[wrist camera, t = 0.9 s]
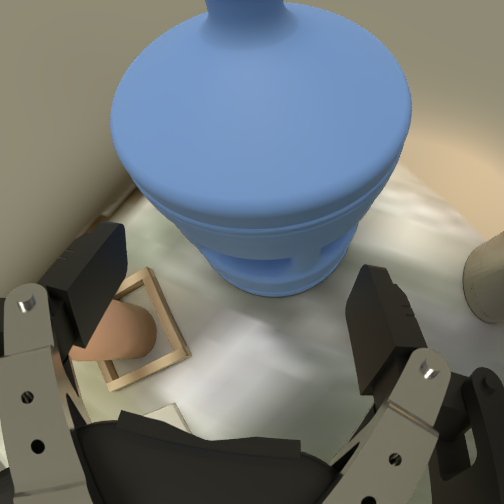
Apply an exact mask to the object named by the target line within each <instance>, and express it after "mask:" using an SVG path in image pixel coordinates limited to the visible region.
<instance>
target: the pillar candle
mask: <svg viewBox="0 0 504 504" xmlns="http://www.w3.org/2000/svg"><path fill="white" fill-rule="evenodd" d="M156 335H157V330H156V324H155V321H154V319H153V317H152V316H151V314H150V313H149V312H148V311H147V310H146V309H144V308H142V307H140V306H137V305H133V304H129V303H125V302H121V301H117V300H113V299H112V301H111V303H110V305H109V306H108V308H107V310H106V312H105V314H104V315H103V317H102V319H101V321H100V323H99V324H98V326H97V328H96V330H95V332H94V334H93V335H92V337H91V339H90V341H89V343H88V345H87V347H86V349H84V348H80V347H77V346H74V345H73V346H72V348H71V350H70V352H69V353H70V356H71V359H72V360H75V361H101V360H120V359H135V358H141V357H143V356H145V355H146V354H148V353H149V352H150V351H151V349H152V348H153V346H154V344H155V341H156Z"/></svg>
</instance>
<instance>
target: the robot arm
mask: <svg viewBox="0 0 504 504" xmlns="http://www.w3.org/2000/svg"><path fill="white" fill-rule="evenodd" d="M127 266H128V261H127V250H126V237H125V228H124V225H123V224H120V223H113V222H107V221H101V222H100V223H99V224H98V225H97V226H96V227H95V228H94V229H93V230H92V231H91V233H86V234H84V235H82V236H80V237H79V238H77V239H75V240H74V241H73V242H72V243H71V244H70V245H69V246H68V248H67V249H66V251H64V252H63V253H62V254H61V255H60V258H58V259H57V260H56V261H55V262H54V263H53V265H52V266H51V267H50V268H49V269H48V270H47V272H46V273H45V274H44V275H43V276H42V278H41V279H40V280H39V281H38V283H37V284H34V283H29V284H24V285H21V286H19V287H17V288H15V289H14V290H12V292H10V293H9V295H8V296H7V298H0V420H1V427H2V433H3V439H4V444H5V450H6V454H7V459H8V463H9V467H8V468H6V469H4V470H3V471H1V472H0V504H408V502H409V500H410V498H411V497H412V495H413V493H414V491H415V489H416V487H417V485H418V483H419V481H420V479H421V477H422V475H423V473H424V470H425V468H426V466H427V464H428V466H429V474H430V482H431V492H432V504H504V387H503V384H502V382H501V380H500V379H499V377H498V376H497V375H496V374H495V373H494V372H493V371H491V370H490V369H488V368H484V367H479V368H477V369H476V370H475V371H474V372H473V373H472V374H471V375H470V376H469V377H466V376H463V375H460V374H457V373H453V372H451V371H450V367H449V365H448V363H447V361H446V360H445V359H444V357H443V356H441V355H440V354H439V353H438V352H436V351H434V350H432V349H428V347H427V345H426V342H425V340H424V337H423V334H422V332H421V329H420V327H419V325H418V322H417V320H416V318H415V317H414V316H415V315H414V313H413V310H412V308H410V307H411V305H410V303H409V301H408V299H407V296H406V294H405V293H404V292H403V291H402V290H401V289H400V288H399V287H398V286H397V284H393V283H392V280H391V278H390V276H389V274H388V271H387V269H386V268H384V267H378V266H372V265H366V264H365V265H363V266H362V268H361V269H360V272H359V274H358V276H357V279H356V281H355V284H354V286H353V288H352V291H351V293H350V295H349V298H348V300H347V304H346V320H347V325H348V330H349V335H350V340H351V345H352V350H353V356H354V361H355V367H356V372H357V378H358V384H359V390H360V395H373V397H374V403H373V404H372V405H371V406H370V408H369V409H368V411H367V412H366V414H365V415H364V417H363V418H362V420H361V421H360V423H359V424H358V426H357V427H356V429H355V430H354V431H353V433H352V434H351V436H350V437H349V439H348V440H347V441H346V443H345V444H344V445H343V447H342V448H341V449H340V450H339V452H338V453H337V454H336V455H335V456H334V457H333V458H332V459H331V461H330V462H329V463H328V464H327V463H326V462H324V461H322V460H321V459H319V458H317V457H315V456H312V455H310V454H308V453H305V452H301V442H300V440H288V439H275V438H264V437H250V438H240V439H229V440H216V441H209V440H204V439H202V438H199V437H197V436H195V435H192V434H190V433H188V432H186V431H183V430H181V429H179V428H177V427H175V426H173V425H170V424H168V423H166V422H164V421H161V420H157V419H153V418H149V417H145V416H141V415H137V414H134V413H130V412H126V411H123V410H121V412H120V415H119V418H118V420H110V421H100V422H94V423H92V422H91V419H90V417H89V415H88V413H87V411H86V408H85V406H84V403H83V400H82V396H81V393H80V390H79V386H78V383H77V379H76V375H75V371H74V368H73V364H72V359H71V356H70V353H69V352H70V350H71V348H72V346H73V345H74V346H77V347H80V348H84V349H86V347H87V345H88V343H89V341H90V339H91V337H92V335H93V334H94V332H95V330H96V328H97V326H98V324H99V323H100V321H101V319H102V317H103V315H104V314H105V312H106V310H107V308H108V306H109V305H110V303H111V301H112V299H113V298H114V296H115V294H116V293H117V291H118V289H119V287H120V286H121V284H122V282H123V281H124V279H125V276H126V273H127ZM463 285H464V292H465V296H466V299H467V302H468V304H469V306H470V308H471V309H472V311H473V312H474V313H475V314H476V315H477V317H478V318H480V319H482V320H483V321H485V322H489V323H500V322H504V232H502V233H500V234H499V235H497V236H495V237H494V238H492V239H491V240H489V241H487V242H486V243H484V244H482V245H481V246H479V247H478V248H476V249H475V250H474V251H473V252H472V253H471V255H470V256H469V258H468V260H467V262H466V265H465V269H464V276H463ZM470 428H472V431H473V435H474V439H475V444H476V448H477V458H476V461H475V463H474V464H473V465H472V466H471V465H470V459H469V454H468V449H467V444H466V440H465V435H464V433H465V432H467V431H468V430H469V429H470Z"/></svg>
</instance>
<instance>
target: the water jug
mask: <svg viewBox="0 0 504 504" xmlns="http://www.w3.org/2000/svg"><path fill="white" fill-rule="evenodd" d="M205 2H206V6H207V10H208V12H206V13H203V14H200V15H197V16H195V17H193V18H191V19H188V20H186V21H184V22H182V23H181V24H178V25H177V26H175V27H173V28H171V29H170V30H168V31H167V32H165V33H164V34H162V35H161V36H160V37H158V38H157V39H156V40H154V41H153V42H152V43H151V44H150V45H148V47H146V48H145V49H144V50H143V51H142V52H141V53H140V54H139V55H138V57H137V58H136V59H135V60H134V61H133V62H132V64H131V65H130V66H129V68H128V69H127V71H126V72H125V74H124V76H123V78H122V80H121V81H120V83H119V85H118V88H117V90H116V93H115V96H114V99H113V103H112V108H111V118H110V127H111V135H112V140H113V144H114V147H115V150H116V152H117V155H118V157H119V159H120V161H121V162H122V164H123V165H124V167H125V169H126V170H127V171H128V173H129V174H130V175H131V177H132V179H133V181H134V182H135V184H136V185H137V187H138V188H139V189H140V191H141V192H142V193H143V194H144V196H145V197H146V198H147V199H148V200H149V201H150V202H151V203H152V204H153V205H154V206H155V207H156V209H157V210H158V211H160V212H161V213H162V214H163V215H164V216H165V217H166V218H168V219H169V220H170V221H171V222H173V223H174V224H175V225H176V226H177V227H178V228H179V229H180V231H181V232H182V233H183V235H184V236H185V237H186V238H187V239H188V240H189V241H190V242H191V243H193V244H194V245H195V246H196V247H197V248H198V249H199V251H200V252H201V253H202V254H203V255H204V256H205V257H206V259H207V260H208V262H209V263H210V264H211V266H212V267H213V268H214V269H215V270H216V271H217V272H218V273H219V274H220V275H221V276H222V277H223V278H224V279H225V280H227V281H228V282H229V283H231V284H232V285H234V286H235V287H237V288H239V289H241V290H244V291H246V292H249V293H252V294H256V295H260V296H268V297H282V296H289V295H294V294H297V293H301V292H303V291H306V290H308V289H310V288H312V287H314V286H316V285H317V284H319V283H320V282H322V281H323V280H324V279H325V278H327V277H328V276H329V275H330V274H331V273H332V272H333V271H334V270H335V268H336V267H337V266H338V264H339V263H340V261H341V260H342V258H343V257H344V255H345V253H346V251H347V249H348V246H349V244H350V242H351V240H352V238H353V236H354V234H355V232H356V229H357V226H358V223H359V221H360V220H361V219H362V218H363V216H364V215H365V214H366V212H367V211H368V210H369V208H370V207H371V205H372V203H373V201H374V200H375V199H376V198H377V196H378V195H379V194H380V192H381V191H382V190H383V188H384V187H385V185H386V183H387V182H388V180H389V178H390V176H391V174H392V172H393V170H394V169H395V167H396V165H397V162H398V160H399V157H400V154H401V152H402V149H403V145H404V141H405V139H406V137H407V134H408V130H409V127H410V122H411V114H412V113H411V112H412V102H411V94H410V90H409V86H408V83H407V80H406V77H405V75H404V73H403V71H402V69H401V67H400V65H399V63H398V62H397V60H396V59H395V57H394V56H393V55H392V53H391V52H390V51H389V50H388V49H387V48H386V47H385V45H384V44H383V43H381V42H380V41H379V40H378V39H377V38H376V37H375V36H373V35H372V34H371V33H370V32H368V31H367V30H366V29H364V28H363V27H361V26H359V25H358V24H356V23H354V22H352V21H350V20H348V19H346V18H344V17H342V16H340V15H337V14H335V13H332V12H329V11H326V10H323V9H320V8H316V7H312V6H307V5H302V4H296V3H287V2H283V0H205Z"/></svg>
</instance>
